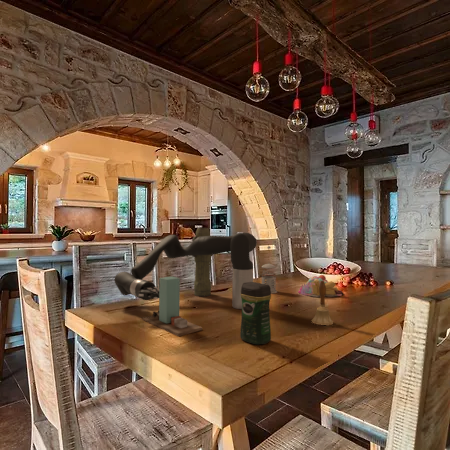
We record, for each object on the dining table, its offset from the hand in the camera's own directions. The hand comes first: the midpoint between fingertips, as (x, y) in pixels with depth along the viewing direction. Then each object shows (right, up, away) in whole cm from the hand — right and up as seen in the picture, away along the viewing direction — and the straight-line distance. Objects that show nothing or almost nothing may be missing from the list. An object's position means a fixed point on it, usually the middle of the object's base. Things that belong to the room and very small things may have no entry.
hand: (165, 296), depth 122 cm
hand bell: (+60, -10, +1) cm, 60 cm away
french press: (+46, -10, +56) cm, 73 cm away
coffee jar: (+32, -10, -18) cm, 38 cm away
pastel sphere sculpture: (+74, -11, +55) cm, 93 cm away
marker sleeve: (+2, -9, -2) cm, 9 cm away
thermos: (+11, -10, +48) cm, 50 cm away
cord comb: (+3, -10, -3) cm, 10 cm away
